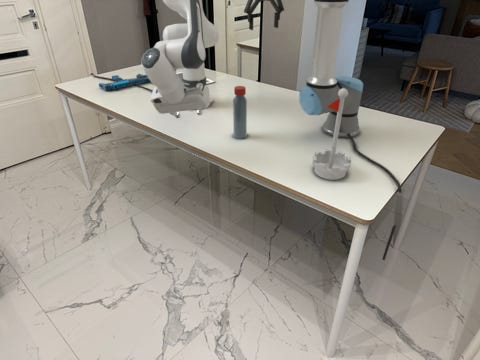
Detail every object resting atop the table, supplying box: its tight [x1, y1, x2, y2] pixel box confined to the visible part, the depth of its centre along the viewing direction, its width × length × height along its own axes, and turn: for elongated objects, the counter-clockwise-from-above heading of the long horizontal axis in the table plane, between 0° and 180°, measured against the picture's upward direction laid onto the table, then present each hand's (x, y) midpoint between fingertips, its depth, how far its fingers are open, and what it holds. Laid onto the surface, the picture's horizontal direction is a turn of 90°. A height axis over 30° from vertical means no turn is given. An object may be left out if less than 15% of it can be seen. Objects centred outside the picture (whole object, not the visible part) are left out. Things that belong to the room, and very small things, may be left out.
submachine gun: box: [98, 73, 151, 91], centre depth 208 cm, size 34×4×25 cm
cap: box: [233, 85, 247, 96], centre depth 135 cm, size 4×4×3 cm
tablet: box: [176, 71, 216, 85], centre depth 213 cm, size 32×20×1 cm, turn 41°
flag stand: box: [312, 88, 352, 181], centre depth 113 cm, size 13×13×30 cm
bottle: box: [232, 95, 248, 140], centre depth 140 cm, size 6×6×21 cm
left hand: (189, 115), depth 131 cm, fingers open, 8 cm apart
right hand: (263, 28), depth 163 cm, fingers open, 13 cm apart
